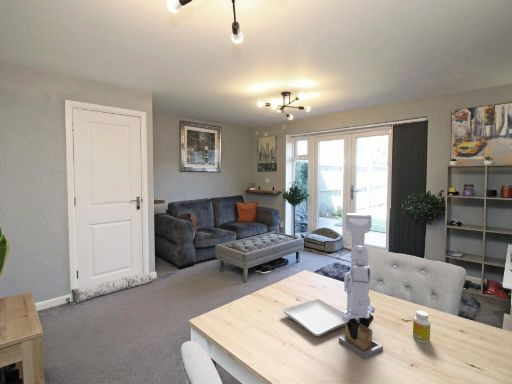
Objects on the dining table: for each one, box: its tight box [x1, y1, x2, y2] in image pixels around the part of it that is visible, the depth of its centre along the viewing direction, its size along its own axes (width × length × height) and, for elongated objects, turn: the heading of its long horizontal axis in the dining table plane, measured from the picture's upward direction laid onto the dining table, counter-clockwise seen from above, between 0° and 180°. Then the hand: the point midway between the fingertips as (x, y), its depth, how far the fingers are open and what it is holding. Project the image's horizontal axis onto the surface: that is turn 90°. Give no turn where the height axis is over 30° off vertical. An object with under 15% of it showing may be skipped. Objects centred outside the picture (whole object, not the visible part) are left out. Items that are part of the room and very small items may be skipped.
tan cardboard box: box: [344, 323, 373, 352], centre depth 98 cm, size 4×8×6 cm, turn 29°
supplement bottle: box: [412, 309, 432, 343], centre depth 101 cm, size 5×5×10 cm
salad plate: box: [282, 298, 346, 337], centre depth 113 cm, size 21×21×3 cm
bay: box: [338, 336, 384, 360], centre depth 97 cm, size 10×11×2 cm
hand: (358, 336), depth 98 cm, fingers closed on tan cardboard box, 4 cm apart
